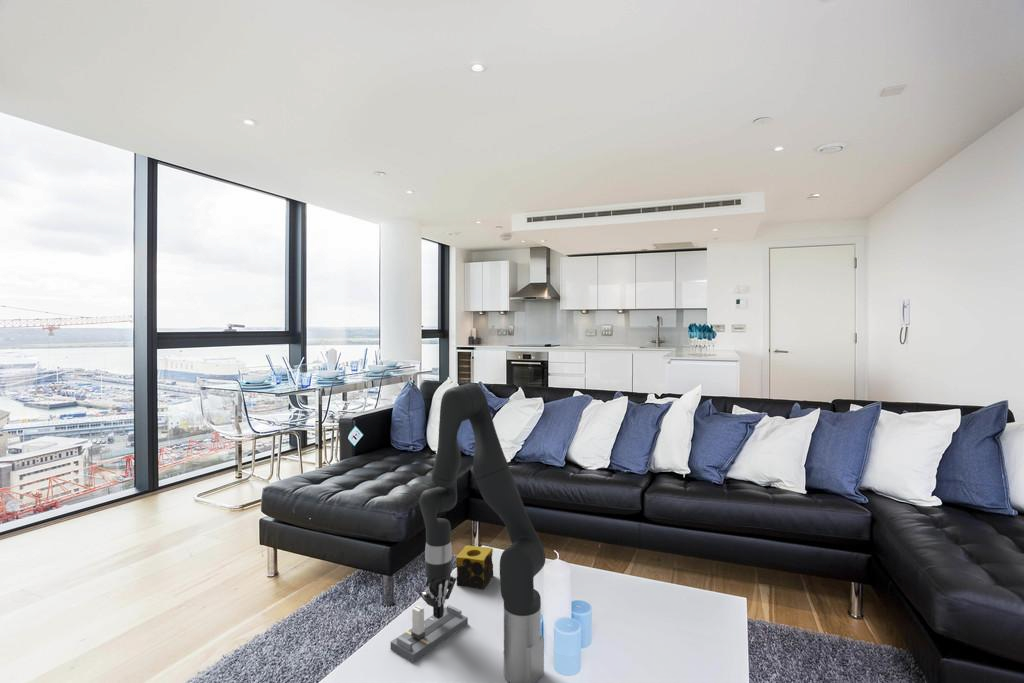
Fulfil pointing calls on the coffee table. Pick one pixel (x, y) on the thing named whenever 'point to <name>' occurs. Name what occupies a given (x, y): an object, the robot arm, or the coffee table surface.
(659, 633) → the coffee table surface
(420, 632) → the fader
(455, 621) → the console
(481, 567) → the candle
